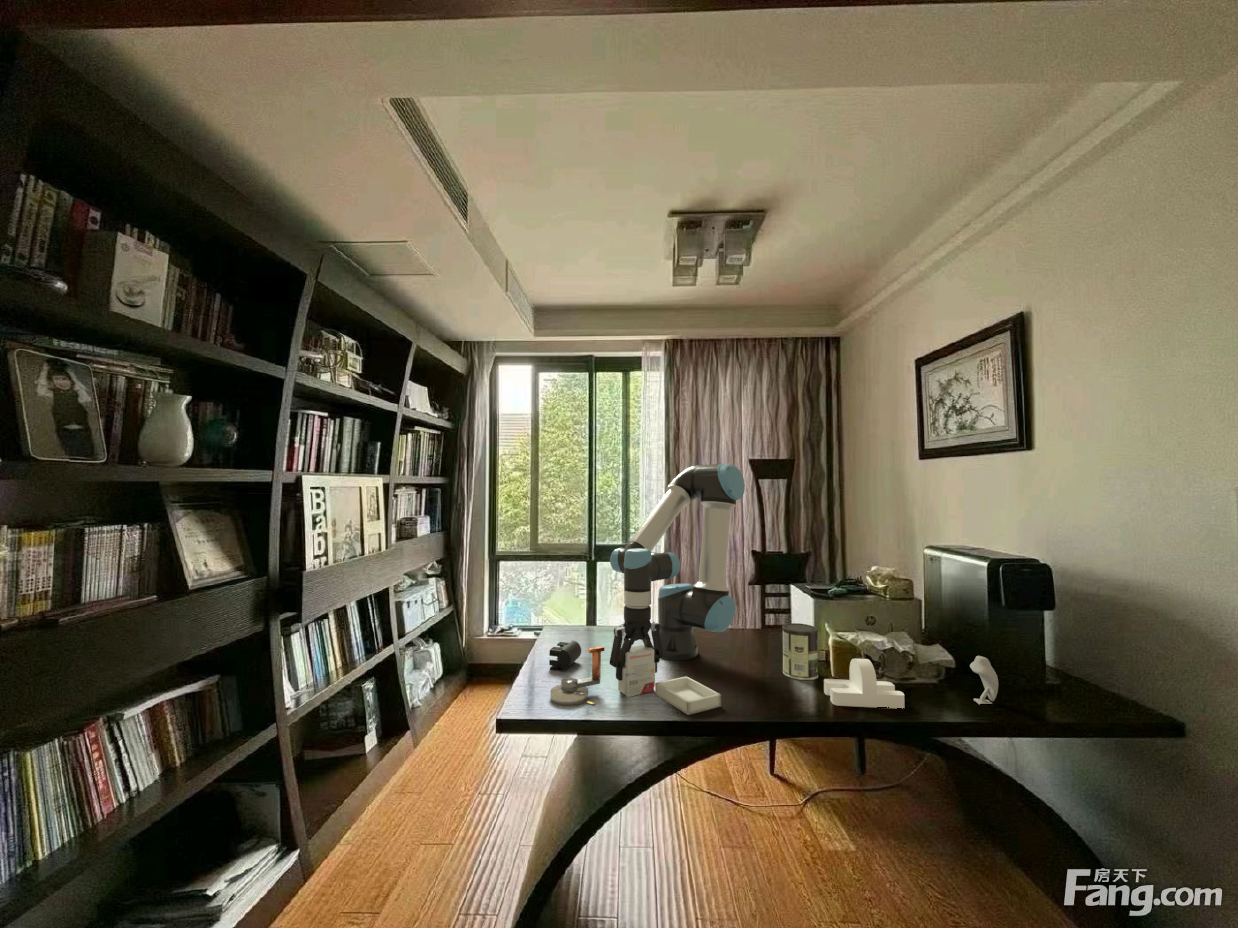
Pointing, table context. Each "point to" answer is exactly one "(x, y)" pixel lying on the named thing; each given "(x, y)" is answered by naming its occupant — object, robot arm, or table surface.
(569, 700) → the crank housing
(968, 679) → the table surface
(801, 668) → the coffee can
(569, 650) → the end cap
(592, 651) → the crank
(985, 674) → the figurine
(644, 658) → the ink box
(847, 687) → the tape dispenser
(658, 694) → the tray
